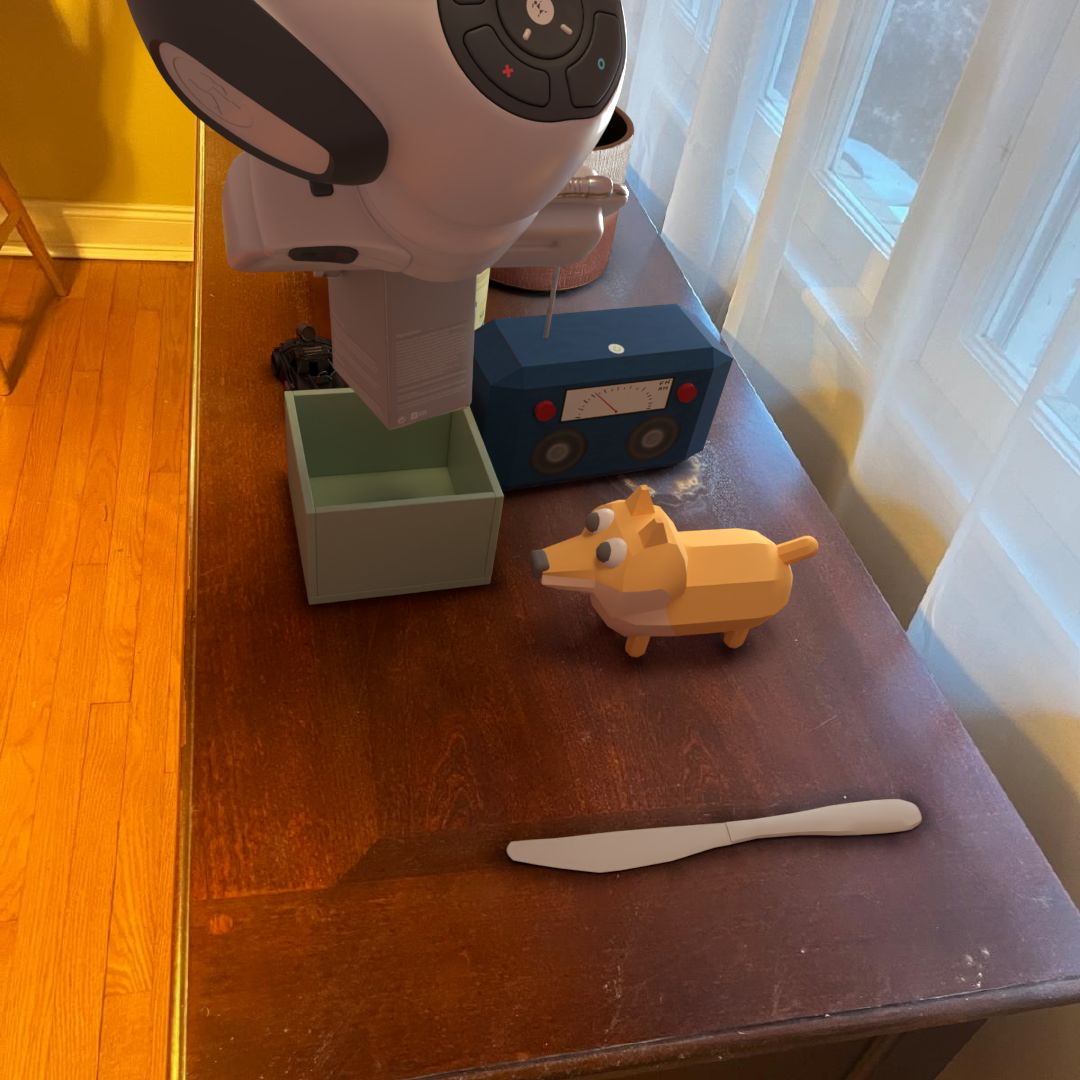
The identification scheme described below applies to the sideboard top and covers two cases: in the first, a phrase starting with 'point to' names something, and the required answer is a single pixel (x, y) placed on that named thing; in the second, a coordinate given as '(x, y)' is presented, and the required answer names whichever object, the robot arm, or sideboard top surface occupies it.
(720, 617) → the dog
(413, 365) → the cosmetic box
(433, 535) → the open storage box
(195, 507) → the sideboard top surface
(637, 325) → the radio
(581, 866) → the butter knife
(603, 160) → the planter
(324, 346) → the toy car
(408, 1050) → the sideboard top surface
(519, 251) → the robot arm
